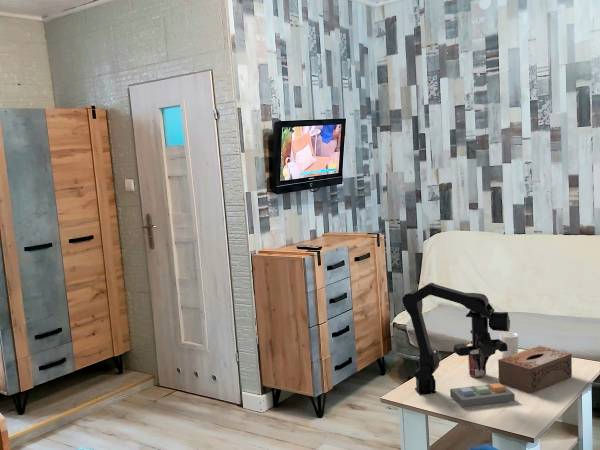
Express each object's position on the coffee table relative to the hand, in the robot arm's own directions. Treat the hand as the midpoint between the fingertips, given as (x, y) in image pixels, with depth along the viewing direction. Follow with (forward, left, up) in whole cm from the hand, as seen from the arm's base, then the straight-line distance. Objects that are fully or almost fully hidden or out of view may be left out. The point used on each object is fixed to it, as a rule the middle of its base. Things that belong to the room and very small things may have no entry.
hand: (481, 370), depth 223 cm
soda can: (+9, +23, -11) cm, 27 cm away
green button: (0, 0, -10) cm, 10 cm away
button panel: (0, 0, -11) cm, 11 cm away
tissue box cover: (+28, +11, -12) cm, 32 cm away
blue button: (-6, 0, -9) cm, 11 cm away
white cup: (+32, +40, -11) cm, 52 cm away
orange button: (+6, 0, -9) cm, 11 cm away
